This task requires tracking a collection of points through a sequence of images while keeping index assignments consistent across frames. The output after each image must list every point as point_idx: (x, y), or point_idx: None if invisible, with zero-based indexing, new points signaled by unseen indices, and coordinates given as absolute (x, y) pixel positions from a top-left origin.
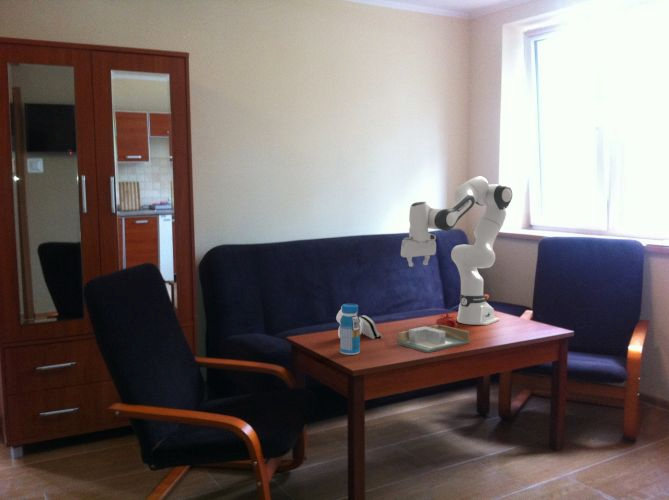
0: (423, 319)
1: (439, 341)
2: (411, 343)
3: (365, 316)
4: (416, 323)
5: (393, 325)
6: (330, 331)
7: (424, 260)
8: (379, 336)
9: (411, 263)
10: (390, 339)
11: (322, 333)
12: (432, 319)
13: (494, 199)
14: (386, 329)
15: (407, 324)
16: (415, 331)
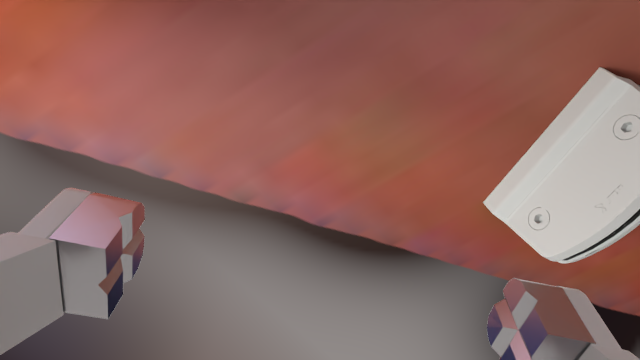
0: (109, 128)
1: None
2: None
3: (628, 212)
4: (209, 107)
5: (325, 168)
6: None
7: (52, 318)
8: (591, 88)
9: (608, 336)
10: (618, 11)
11: (625, 296)
12: (69, 92)
13: None
14: (419, 149)
15: (260, 129)
16: None
